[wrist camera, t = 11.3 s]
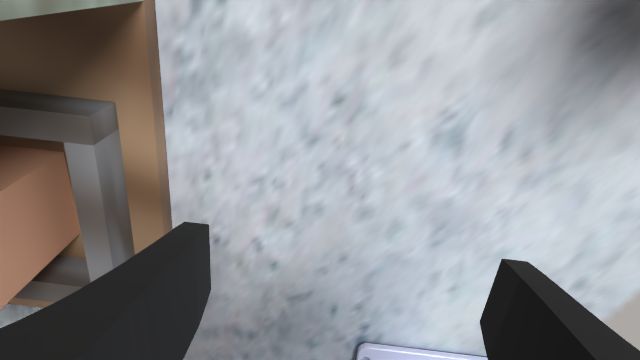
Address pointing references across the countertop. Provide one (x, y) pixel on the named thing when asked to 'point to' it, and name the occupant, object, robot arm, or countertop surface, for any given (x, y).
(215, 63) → the countertop surface
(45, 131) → the socket stand
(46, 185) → the peg
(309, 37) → the countertop surface
